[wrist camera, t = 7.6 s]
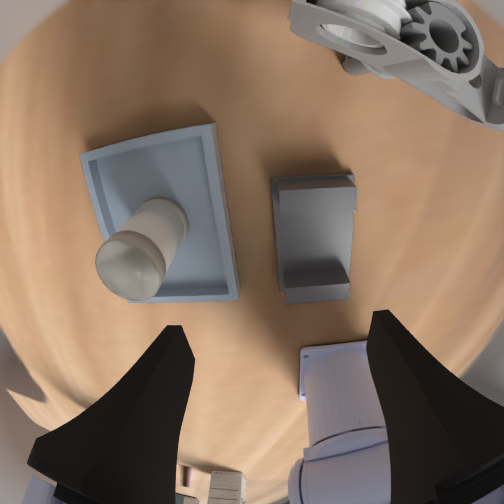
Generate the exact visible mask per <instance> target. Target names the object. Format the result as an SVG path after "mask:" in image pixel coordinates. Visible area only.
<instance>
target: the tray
mask: <svg viewBox="0 0 504 504" xmlns="http://www.w3.org/2000/svg"><path fill="white" fill-rule="evenodd" d="M79 156H80V160H81V164H82V168H83V172H84V176H85V180H86V184H87V188H88V191H89V195H90V199H91V202H92V205H93V209H94V212H95V215H96V218H97V222H98V225H99V228H100V231H101V234H102V237H103V240H104V242H106V240H107V239H108V238H109V237H110V236H112V235H113V234H114V233H115V232H116V231H117V230H118V229H119V228H120V227H121V226H122V225H123V224H124V223H125V222H126V221H127V220H128V219H129V218H130V217H131V216H132V215H133V214H134V213H135V212H136V210H137V209H138V208H139V207H140V206H141V205H142V204H143V203H144V202H146V201H147V200H149V199H150V198H153V197H167V198H170V199H172V200H174V201H176V202H177V203H178V204H179V205H180V206H181V207H182V208H183V209H184V211H185V212H186V214H187V217H188V221H189V229H188V233H187V235H186V237H185V239H184V241H183V243H182V244H181V246H180V247H179V248H178V250H177V252H176V254H175V256H174V258H173V260H172V262H171V264H170V265H169V267H168V269H167V271H166V274H165V277H164V279H163V281H162V283H161V285H160V287H159V289H158V291H157V293H156V294H155V295H154V296H153V297H152V298H150V299H148V300H145V301H139V302H136V301H129V300H127V301H128V303H184V302H218V301H239V296H240V282H239V276H238V269H237V263H236V257H235V250H234V244H233V238H232V231H231V225H230V218H229V212H228V205H227V198H226V192H225V185H224V178H223V171H222V164H221V157H220V150H219V143H218V136H217V128H216V122H214V123H207V124H201V125H195V126H189V127H184V128H178V129H173V130H168V131H163V132H158V133H154V134H149V135H145V136H141V137H137V138H133V139H129V140H125V141H121V142H117V143H114V144H110V145H107V146H103V147H100V148H96V149H93V150H90V151H88V152H85V153H83V154H80V155H79Z"/></svg>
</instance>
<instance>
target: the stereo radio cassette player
mask: <svg viewBox="0 0 504 504" xmlns="http://www.w3.org/2000/svg"><path fill="white" fill-rule="evenodd" d="M175 498H176V504H199V500H198V499H197V498H192V497H188V496H183V495H179V494H175Z"/></svg>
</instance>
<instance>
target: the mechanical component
mask: <svg viewBox="0 0 504 504" xmlns="http://www.w3.org/2000/svg"><path fill="white" fill-rule="evenodd" d="M288 19H289V20H291V21H292V22H291V26H290V30H291V31H292V32H293V33H294V34H296V35H298V36H299V37H301V38H303V39H306V40H308V41H310V42H313V43H316V44H318V45H321V46H324V47H327V48H330V49H333V50H335V51H338V52H340V53H343V54H345V55H344V57H346V58H345V61H344V62H343V64H342V65H343V69H344V70H345V71H346V72H347V73H349V74H351V75H360V74H364V73H369V72H370V73H372V74H373V75H375V76H377V77H379V78H383V79H395V78H398V79H400V80H401V81H403V82H405V83H407V84H409V85H411V86H412V87H414V88H416V89H418V90H419V91H421V92H423V93H424V94H426V95H428V96H429V97H431V98H432V99H434V100H436V101H437V102H439V103H440V104H442V105H443V106H445V107H446V108H448V109H449V110H451V111H452V112H454V113H456V114H458V115H459V116H461V117H463V118H465V119H467V120H469V121H471V122H473V123H476V124H478V125H481V126H485V127H488V128H492V129H495V130H498V131H501V132H504V68H498V67H497V66H496V65H495V64H494V63H492V62H491V61H490V60H489V59H488V58H487V57H486V56H485V55H484V54H483V51H484V44H483V40H482V37H481V34H480V32H479V30H478V28H477V26H476V24H475V22H474V21H473V19H472V18H471V16H470V15H469V14H468V13H467V11H466V10H465V9H464V8H463V7H462V6H461V5H460V4H458V3H457V2H456V1H454V0H293V1H292V4H291V8H290V12H289V15H288Z"/></svg>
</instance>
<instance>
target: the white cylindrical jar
mask: <svg viewBox="0 0 504 504" xmlns="http://www.w3.org/2000/svg"><path fill="white" fill-rule="evenodd" d="M188 229H189V221H188V217H187V214H186V212H185V211H184V209H183V208H182V207H181V206H180V205H179V204H178V203H177V202H176V201H174V200H172V199H170V198H167V197H153V198H150V199H149V200H147V201H146V202H144V203H143V204H142V205H141V206H140V207H139V208H138V209H137V210H136V212H135V213H134V214H133V215H132V216H131V217H130V218H129V219H128V220H127V221H126V222H125V223H124V224H123V225H122V226H121V227H120V228H119V229H118V230H117V231H116V232H115V233H114V234H113V235H112V236H110V237H109V238H108V239H107V240H106V242H105V243H104V244H103V245H102V246H101V247H100V248H99V250H98V252H97V254H96V259H95V264H96V269H97V272H98V275H99V277H100V279H101V280H102V282H103V283H104V285H105V286H106V287H107V288H108V289H109V290H110V291H111V292H113V293H114V294H116V295H117V296H119V297H121V298H123V299H126V300H129V301H136V302H139V301H145V300H148V299H150V298H152V297H153V296H154V295H155V294H156V293H157V291H158V289H159V287H160V285H161V283H162V281H163V279H164V277H165V274H166V271H167V269H168V267H169V265H170V264H171V262H172V260H173V258H174V256H175V254H176V252H177V250H178V248H179V247H180V246H181V244H182V243H183V241H184V239H185V237H186V235H187V233H188Z"/></svg>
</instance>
